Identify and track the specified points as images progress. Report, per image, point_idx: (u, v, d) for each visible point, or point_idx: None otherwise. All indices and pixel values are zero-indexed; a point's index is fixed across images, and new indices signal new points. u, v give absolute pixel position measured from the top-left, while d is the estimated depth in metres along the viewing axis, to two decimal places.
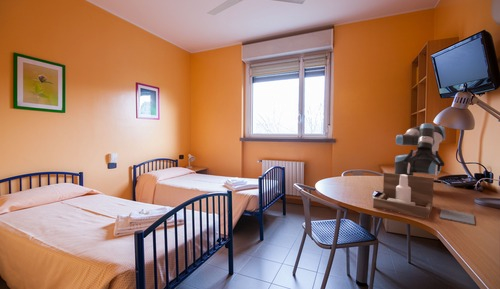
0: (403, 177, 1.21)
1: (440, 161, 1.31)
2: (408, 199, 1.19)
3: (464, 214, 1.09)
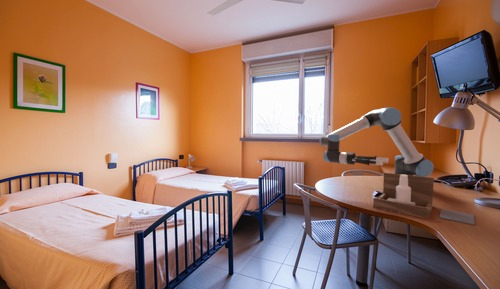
0: (403, 177, 1.21)
1: (364, 163, 1.28)
2: (408, 199, 1.19)
3: (464, 214, 1.09)
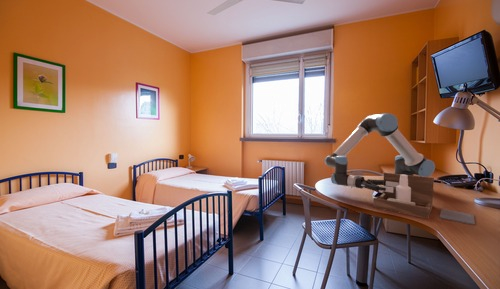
0: (403, 177, 1.21)
1: (373, 189, 1.25)
2: (408, 199, 1.19)
3: (464, 214, 1.09)
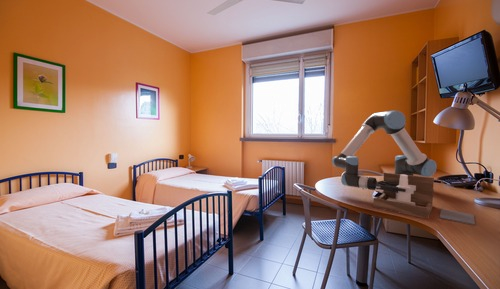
0: (403, 177, 1.21)
1: None
2: (408, 199, 1.19)
3: (464, 214, 1.09)
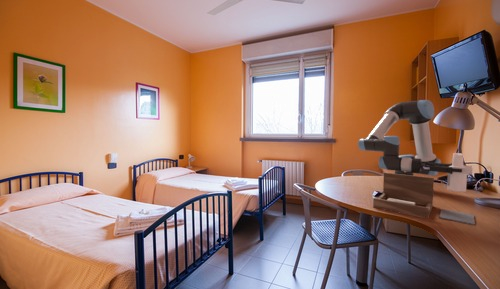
0: (458, 156, 1.04)
1: None
2: (464, 181, 1.03)
3: (464, 214, 1.09)
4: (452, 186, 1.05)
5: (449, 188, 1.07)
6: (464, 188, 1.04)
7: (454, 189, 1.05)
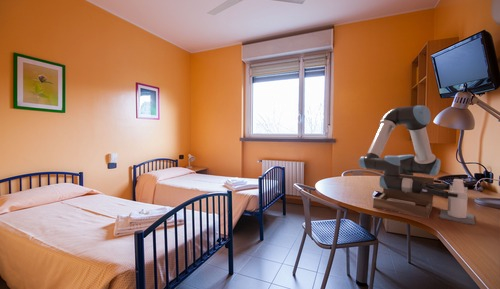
0: (458, 182, 1.05)
1: None
2: (464, 207, 1.04)
3: None
4: (453, 212, 1.06)
5: (449, 214, 1.08)
6: (464, 214, 1.04)
7: (454, 215, 1.06)
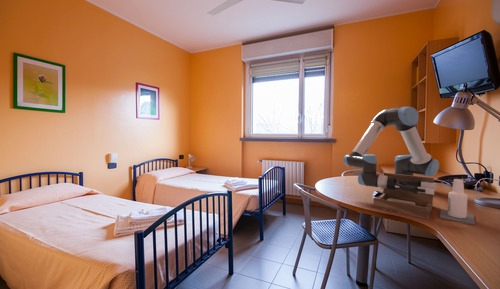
0: (458, 182, 1.05)
1: (411, 191, 1.13)
2: (465, 207, 1.04)
3: None
4: (453, 212, 1.06)
5: (449, 214, 1.08)
6: (464, 214, 1.04)
7: (454, 215, 1.06)
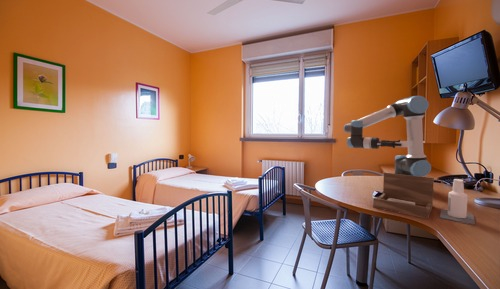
0: (458, 182, 1.05)
1: (389, 146, 1.33)
2: (464, 207, 1.04)
3: None
4: (453, 212, 1.06)
5: (449, 214, 1.08)
6: (464, 214, 1.04)
7: (454, 215, 1.06)
